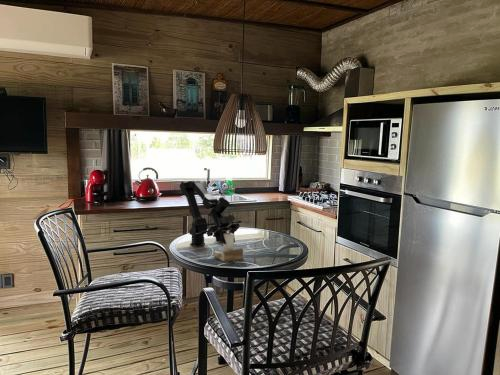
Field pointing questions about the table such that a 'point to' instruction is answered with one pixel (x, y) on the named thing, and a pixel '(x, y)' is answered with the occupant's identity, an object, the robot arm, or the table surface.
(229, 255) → the holder
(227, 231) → the coffee mug
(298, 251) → the table surface
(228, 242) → the paper roll
